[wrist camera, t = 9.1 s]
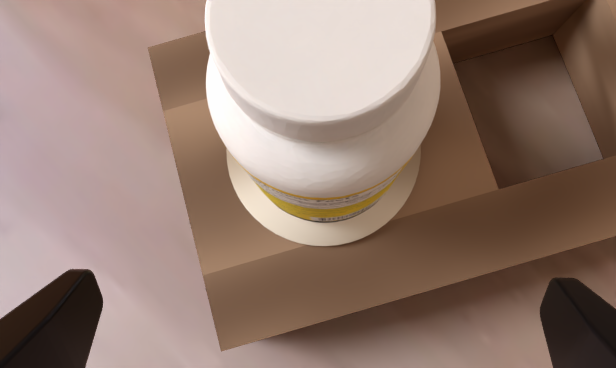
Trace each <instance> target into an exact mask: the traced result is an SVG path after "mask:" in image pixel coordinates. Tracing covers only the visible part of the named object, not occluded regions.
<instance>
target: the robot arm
mask: <svg viewBox="0 0 616 368" xmlns="http://www.w3.org/2000/svg"><path fill="white" fill-rule="evenodd" d="M102 308H103V298H102V294H101V292H100V289H99V286H98V284H97V281H96V278H95V276H94V274H93V272H92V271H91V270H88V269H70V270H68V271H66V272H65V273H63V274H62V275H60V276H59V277H58V278H56V279H55V280H54V281H52V282H51V283H49V284H48V285H47V286H45V287H44V288H42V289H41V290H40V291H38V292H37V293H36V294H34V295H33V296H31V297H30V298H29V299H27V300H26V301H24V302H23V303H22V304H20V305H19V306H18V307H16V308H15V309H13V310H12V311H11V312H9V313H8V314H6V315H5V316H4V317H2V318H1V319H0V368H85V367H86V363H87V360H88V356H89V353H90V349H91V346H92V343H93V339H94V336H95V332H96V329H97V325H98V322H99V319H100V315H101V312H102ZM540 318H541V322H542V326H543V330H544V334H545V338H546V342H547V346H548V349H549V353H550V357H551V361H552V365H553V368H616V309H615V308H614V307H613V306H611V305H610V304H609V303H607V302H606V301H605V300H604V299H602V298H601V297H600V296H598V295H597V294H596V293H595V292H593V291H592V290H591V289H589V288H588V287H587V286H585V285H584V284H583V283H582V282H580V281H579V280H577V279H575V278H553V279H552V280H551V281H550V283H549V285H548V288H547V290H546V293H545V296H544V298H543V301H542V303H541V307H540Z"/></svg>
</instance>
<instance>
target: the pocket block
mask: <svg viewBox="0 0 616 368" xmlns="http://www.w3.org/2000/svg"><path fill="white" fill-rule="evenodd" d="M435 4H436V27H435V35H434V40H433V42H434V44H435V47H436V51H437V55H438V59H439V66H440V95H439V101H438V105H437V109H436V112H435V116H434V118H433V121H432V124H431V126H430V128H429V130H428V132H427V134H426V136H425V138H424V139H423V141H422V142H421V144H420V146H419V147H418V149H417V150H416V152H415V154H414V155H413V156H412V158H411V159H410V161H409V162H408V163H407V164H406V166H405V167H404V168H403V170H402V171H401V172H400V174H399V175H398V177H397V178H396V179H395V181H394V182H393V184H392V185H391V186H390V188H389V189H388V191H387V192H386V193H385V195H384V196H383V197H382V198H381V199H380V200H379V201H378V202H377V203H376V204H375V205H374V206H372V207H371V208H370V209H368V210H367V211H365V212H363V213H362V214H360V215H358V216H356V217H353V218H351V219H348V220H344V221H340V222H334V223H316V222H310V221H306V220H302V219H299V218H297V217H294V216H292V215H290V214H288V213H286V212H284V211H283V210H281V209H280V208H278V207H277V206H276V205H275V204H274V203H273V202H272V201H271V200H270V199H268V197H267V196H266V195H265V194H264V193H263V192H262V191H261V190H260V188H259V187H258V186H257V185H256V184H255V182H254V181H253V180H252V179H251V178H250V176H249V175H248V174H247V173H246V172H245V171H244V169H243V168H242V167H241V166H240V165H239V163H238V162H237V161H236V160H235V159H234V158H233V156H232V155H231V153H230V152H229V151H228V149H227V148H226V146H225V144H224V143H223V141H222V139H221V138H220V136H219V134H218V132H217V130H216V128H215V125H214V123H213V120H212V117H211V114H210V110H209V107H208V101H207V94H206V73H207V64H208V60H209V55H210V51H209V48H208V43H207V39H206V31H204V32H201V33H197V34H194V35H190V36H187V37H183V38H180V39H176V40H173V41H169V42H166V43H162V44H159V45H155V46H152V47H148V51H149V55H150V59H151V63H152V67H153V71H154V75H155V80H156V84H157V88H158V92H159V96H160V100H161V104H162V109H163V113H164V117H165V121H166V125H167V129H168V133H169V138H170V142H171V146H172V150H173V154H174V158H175V162H176V167H177V171H178V175H179V179H180V183H181V187H182V191H183V196H184V200H185V204H186V208H187V212H188V216H189V220H190V225H191V229H192V233H193V237H194V241H195V245H196V249H197V253H198V258H199V262H200V266H201V270H202V274H203V278H204V282H205V287H206V291H207V295H208V299H209V303H210V307H211V311H212V316H213V320H214V324H215V328H216V332H217V336H218V340H219V345H220V349H221V351H224V350H228V349H231V348H235V347H238V346H241V345H245V344H248V343H252V342H255V341H259V340H262V339H265V338H269V337H272V336H276V335H279V334H283V333H286V332H289V331H293V330H296V329H300V328H303V327H306V326H310V325H313V324H317V323H320V322H324V321H327V320H330V319H334V318H337V317H341V316H344V315H348V314H351V313H354V312H358V311H361V310H365V309H368V308H371V307H375V306H378V305H382V304H385V303H389V302H392V301H395V300H399V299H402V298H406V297H409V296H413V295H416V294H419V293H423V292H426V291H430V290H433V289H436V288H440V287H443V286H447V285H450V284H454V283H457V282H460V281H464V280H467V279H471V278H474V277H478V276H481V275H484V274H488V273H491V272H495V271H498V270H501V269H505V268H508V267H512V266H515V265H519V264H522V263H525V262H529V261H532V260H536V259H539V258H543V257H546V256H549V255H553V254H556V253H560V252H563V251H566V250H570V249H573V248H577V247H580V246H584V245H587V244H590V243H594V242H597V241H601V240H604V239H608V238H611V237H614V236H616V0H435ZM550 35H553V36H554V39H555V41H556V44H557V46H558V49H559V51H560V53H561V56H562V58H563V61H564V63H565V66H566V68H567V70H568V73H569V75H570V78H571V80H572V83H573V85H574V88H575V90H576V92H577V95H578V97H579V100H580V102H581V105H582V107H583V109H584V112H585V114H586V117H587V119H588V122H589V124H590V127H591V129H592V131H593V134H594V136H595V139H596V141H597V144H598V146H599V148H600V151H601V153H602V156H603V158H604V159H601V160H598V161H595V162H591V163H588V164H584V165H581V166H577V167H574V168H570V169H567V170H564V171H560V172H557V173H553V174H550V175H546V176H543V177H539V178H536V179H533V180H529V181H526V182H522V183H519V184H515V185H512V186H508V187H505V188H502V189H498V186H497V183H496V181H495V178H494V175H493V172H492V170H491V167H490V164H489V161H488V159H487V156H486V153H485V150H484V148H483V145H482V142H481V139H480V137H479V134H478V131H477V128H476V126H475V123H474V120H473V117H472V115H471V112H470V109H469V106H468V104H467V101H466V98H465V95H464V93H463V90H462V87H461V84H460V82H459V79H458V76H457V74H456V71H455V68H454V65H453V63H456V62H460V61H463V60H467V59H470V58H474V57H477V56H481V55H484V54H488V53H491V52H495V51H498V50H502V49H505V48H509V47H512V46H516V45H519V44H523V43H526V42H530V41H533V40H536V39H540V38H543V37H547V36H550Z"/></svg>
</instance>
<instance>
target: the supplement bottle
mask: <svg viewBox="0 0 616 368" xmlns="http://www.w3.org/2000/svg"><path fill="white" fill-rule="evenodd" d="M435 27H436V4H435V0H207V1H206V8H205V29H206V39H207V43H208V48H209V51H210V55H209V60H208V64H207V73H206V94H207V101H208V107H209V110H210V114H211V117H212V120H213V123H214V125H215V128H216V130H217V132H218V134H219V136H220V138H221V139H222V141H223V143H224V144H225V146H226V148H227V149H228V151H229V152H230V153H231V155H232V156H233V158H234V159H235V160H236V161H237V162H238V163H239V165H240V166H241V167H242V168H243V169H244V171H245V172H246V173H247V174H248V175H249V176H250V178H251V179H252V180H253V181H254V182H255V184H256V185H257V186H258V187H259V188H260V190H261V191H262V192H263V193H264V194H265V195H266V196H267V197H268V199H270V200H271V201H272V202H273V203H274V204H275V205H276V206H277V207H278V208H280V209H281V210H283V211H284V212H286V213H288V214H290V215H292V216H294V217H297V218H299V219H302V220H306V221H310V222H316V223H334V222H340V221H344V220H348V219H351V218H353V217H356V216H358V215H360V214H362V213H363V212H365V211H367V210H368V209H370V208H371V207H372V206H374V205H375V204H376V203H377V202H378V201H379V200H380V199H381V198H382V197H383V196H384V195H385V193H386V192H387V191H388V189H389V188H390V186H391V185H392V184H393V182H394V181H395V179H396V178H397V177H398V175H399V174H400V172H401V171H402V170H403V168H404V167H405V166H406V164H407V163H408V162H409V161H410V159H411V158H412V156H413V155H414V154H415V152H416V150H417V149H418V147H419V146H420V144H421V142H422V141H423V139H424V138H425V136H426V134H427V132H428V130H429V128H430V126H431V124H432V121H433V118H434V116H435V112H436V109H437V105H438V101H439V95H440V66H439V59H438V55H437V51H436V47H435V44H434V42H433V40H434V35H435Z"/></svg>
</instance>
